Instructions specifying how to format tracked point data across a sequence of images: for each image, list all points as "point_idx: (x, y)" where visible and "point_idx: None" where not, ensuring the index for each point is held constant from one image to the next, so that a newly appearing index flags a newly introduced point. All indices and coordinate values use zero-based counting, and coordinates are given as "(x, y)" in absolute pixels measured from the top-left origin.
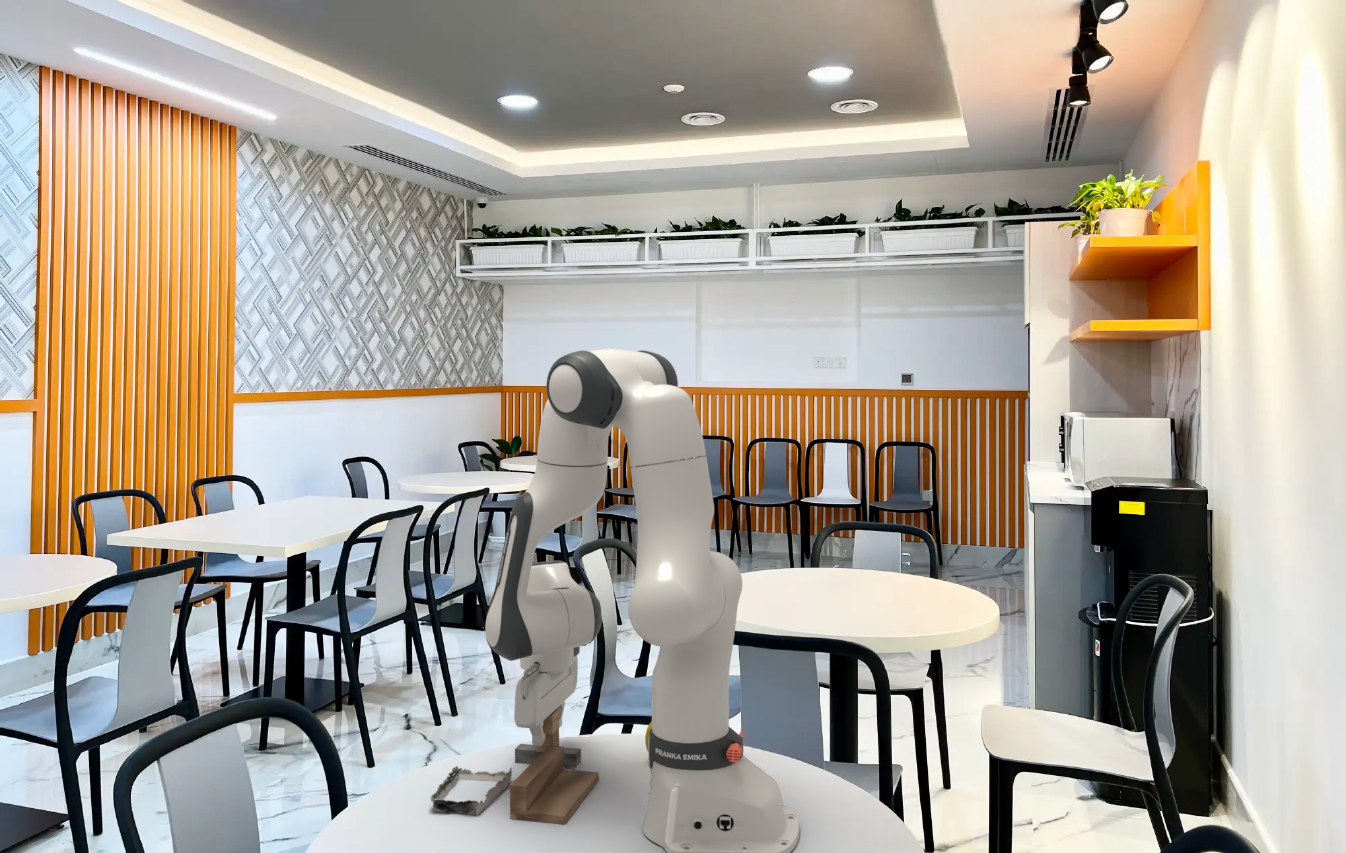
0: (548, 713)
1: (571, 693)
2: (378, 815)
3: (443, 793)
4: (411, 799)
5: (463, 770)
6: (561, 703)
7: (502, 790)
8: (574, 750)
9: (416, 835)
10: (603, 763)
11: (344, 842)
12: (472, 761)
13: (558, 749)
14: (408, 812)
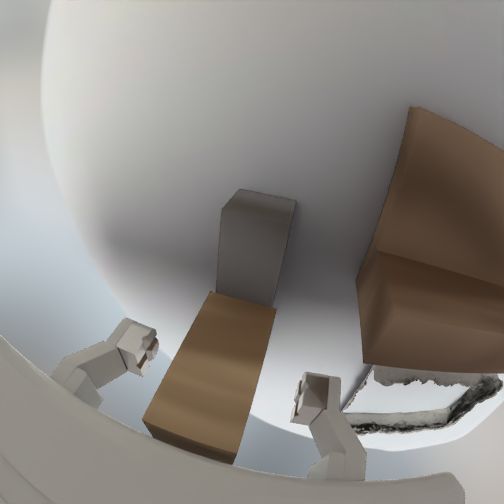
0: (318, 495)
1: (12, 356)
2: (427, 436)
3: (409, 419)
4: None
5: None
6: (110, 422)
7: None
8: (247, 234)
9: (497, 399)
10: (242, 100)
11: (469, 431)
12: (257, 403)
13: (424, 328)
14: None
